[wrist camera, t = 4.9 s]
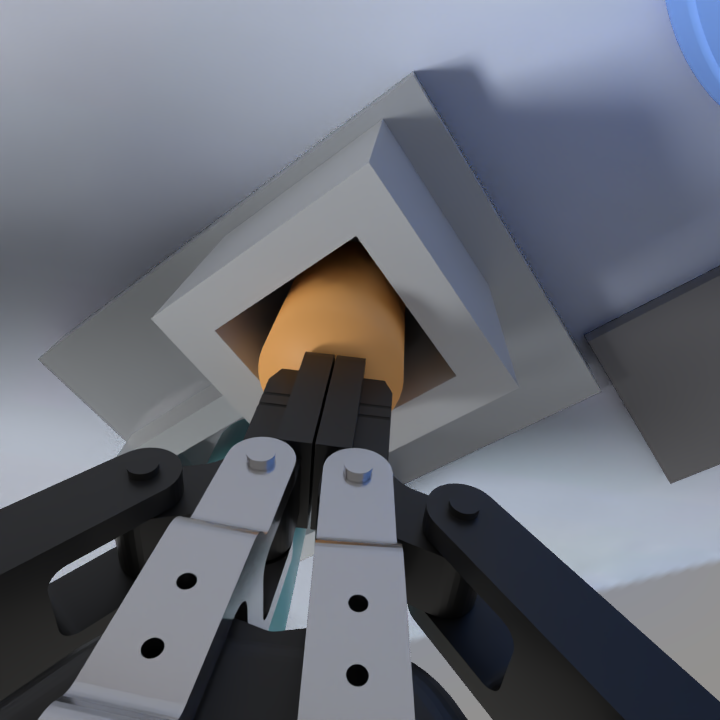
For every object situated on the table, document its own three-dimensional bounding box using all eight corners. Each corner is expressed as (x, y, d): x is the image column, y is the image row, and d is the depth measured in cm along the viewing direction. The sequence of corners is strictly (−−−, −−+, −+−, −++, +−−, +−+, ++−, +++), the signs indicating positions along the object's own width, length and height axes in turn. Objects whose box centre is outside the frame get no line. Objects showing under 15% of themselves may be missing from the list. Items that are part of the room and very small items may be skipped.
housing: (62, 337, 26) (-84, 467, 19) (413, 71, 20) (414, 99, 12) (258, 527, 31) (208, 691, 24) (588, 366, 25) (668, 519, 17)
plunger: (271, 280, 18) (228, 357, 14) (363, 218, 17) (346, 282, 13) (337, 362, 20) (317, 455, 15) (427, 310, 19) (431, 396, 14)
